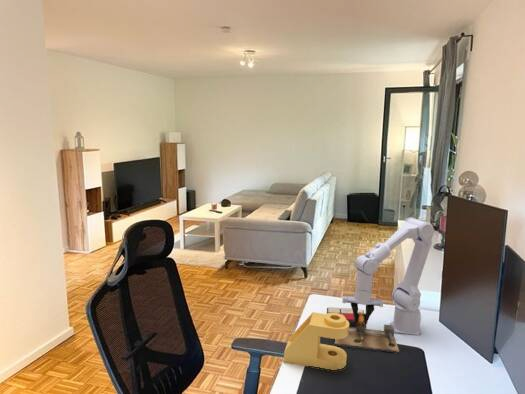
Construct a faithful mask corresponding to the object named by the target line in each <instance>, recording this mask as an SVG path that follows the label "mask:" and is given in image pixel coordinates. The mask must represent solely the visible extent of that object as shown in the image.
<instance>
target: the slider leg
mask: <svg viewBox="0 0 525 394" xmlns="http://www.w3.org/2000/svg"><path fill="white" fill-rule="evenodd" d="M365 313H366V312H364V313H362V312H358V313H357V323H356V332H359V334H360V338H361V341H363V339H364V335H363V333H365V316H366V314H365Z"/></svg>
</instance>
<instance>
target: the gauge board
mask: <svg viewBox="0 0 525 394" xmlns="http://www.w3.org/2000/svg"><path fill="white" fill-rule="evenodd" d="M363 335H364V339H363V341H361V338H360V334H359V332H356V328H353V327H349V334H348V336H347V337H346V338H343V339H335V342H334V345H335V344H338V345H347V346H348V345H349V346H359V347H364V348H373V349H381V350H391V351H396V352H399V353H400V349H399V346H398V343H397V340H396V338H395V332H394V328H393V325H391V324H386V323H385V324H383V330H379V329H371V328H369V329H368V328H366V329H365V333H363Z"/></svg>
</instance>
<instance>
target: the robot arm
mask: <svg viewBox="0 0 525 394" xmlns="http://www.w3.org/2000/svg"><path fill="white" fill-rule="evenodd" d="M434 233H435V228H434V227H433V225H432V224H431V223H430V222H428V221H427V222H426V221H424V220H420V219H417V218H415V217H412V216H411V217H407V218H406V219H405V220H404V221H401V223H400V227H399V228H398V229H397V230H396V231H395V232H394V233H393V234H392V235H391V236H390V237H389V238H388V239H387V240H386V241H384V242H378V243H375V244H374V246H373V247H372V248H371V249H370V250H369V251H368V252H366V253H365V254H362V255H359V256H357V258H356V259H355V261H354V267H355V269H356V270H355V272H356V281H355V291H354V293H355V294H354V295H352V296H351V295H349V296H343V295H342V301H341V302H342V304H350V306H351V308H352V310H353V313H354V318H355V323H357V313H358V309H359V306H358V305H361V306H363V305H365V312H364V313H365V314H366V316H365V324H366V325H367V324H368V321H369V319H370V318H371V315H372V314H373V312H374V311H375V306H376V307H380V308H383V307H384V301H383V299H379V298H378V299H377V298H374V297H372V289H373V279H374V278H373V277H374V274H375V273H376V272H377V271H378V267H379V266H380V264H381V263H382V262H383V261H384V260H386V259H388V257H390V256H391V250H393V249H395V248H396V247H397V246H399V244H401V243H403V242H404V241H406V240H408V239H412V241H413V242H414V247H413V248H412V249H413V250H412V252H411V256H410V260H409V261H408V265H407V268H406V271H405V274H404V277H403V280H402V281H400V282H398V283H397V284H396V287H395V288H394V290H393V291H392V293H391V299H392V301H393V304H394V314H393V321H390V325H393V328H394V334H395V333H396V334H405V335H412V336H413V335H414V336H420V328H421V319H422V316H421V309H419V308H420V305H421V296H422V293H421V291H420V289H419V287H418V286H419V284H420V281H421V276H422V274H423V271H424V268H425V265H426V263H427V262H426V261H427V259H428V256H429V253H430V250H431V246H432V243H433V242H432V241H433V237H434Z"/></svg>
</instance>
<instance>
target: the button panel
mask: <svg viewBox="0 0 525 394" xmlns="http://www.w3.org/2000/svg"><path fill="white" fill-rule="evenodd" d="M358 312H362V313H365V310H363V309H360V308H358ZM327 313H339V314H341V315H343V316H344V317H345V318H346V320H348V322H349V327H353V328H356V323H355V318H354V313H353V310H352V307H351V308H350V307H349V308H348V307H331V306H328V307H327V308H326V314H327ZM365 329H367V324H365Z"/></svg>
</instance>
